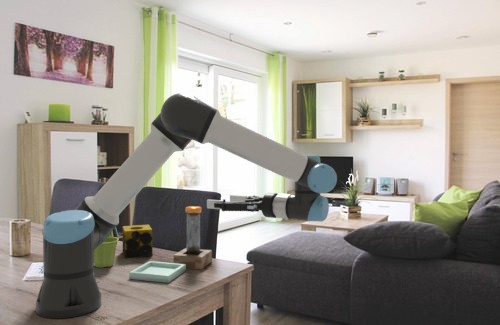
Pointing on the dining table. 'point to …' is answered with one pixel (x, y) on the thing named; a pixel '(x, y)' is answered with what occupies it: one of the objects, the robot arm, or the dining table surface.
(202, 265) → the socket collar
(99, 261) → the plant pot
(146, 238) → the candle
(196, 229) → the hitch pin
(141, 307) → the dining table surface
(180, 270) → the tray
